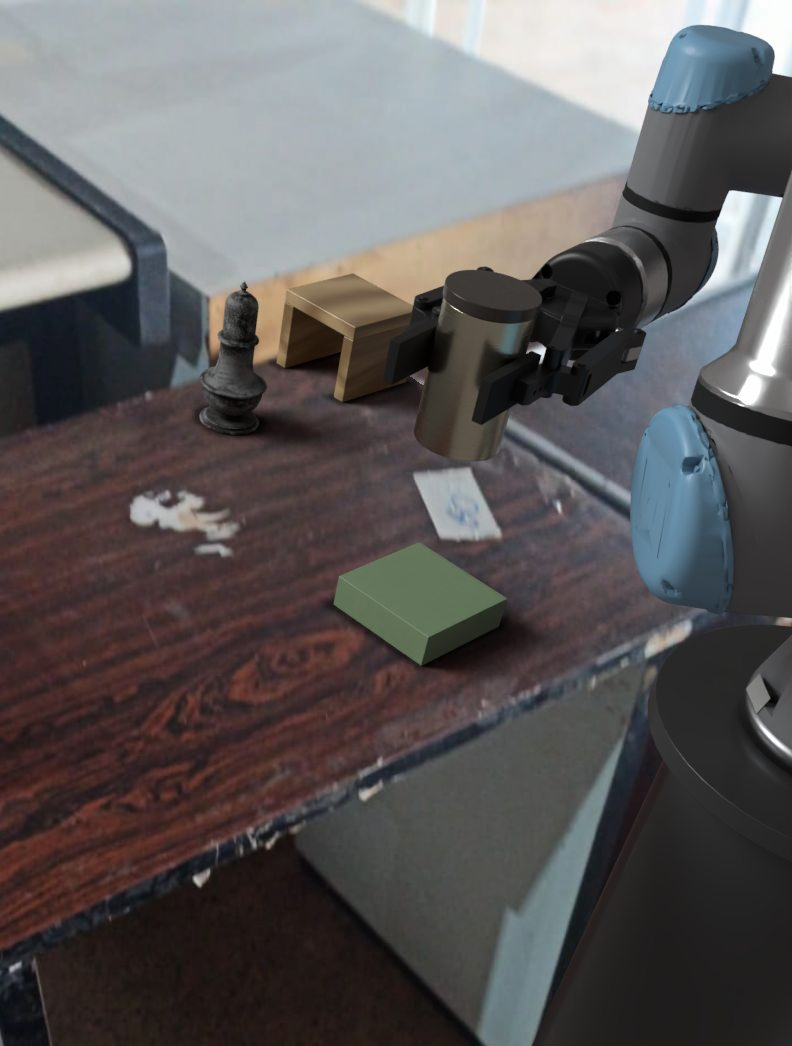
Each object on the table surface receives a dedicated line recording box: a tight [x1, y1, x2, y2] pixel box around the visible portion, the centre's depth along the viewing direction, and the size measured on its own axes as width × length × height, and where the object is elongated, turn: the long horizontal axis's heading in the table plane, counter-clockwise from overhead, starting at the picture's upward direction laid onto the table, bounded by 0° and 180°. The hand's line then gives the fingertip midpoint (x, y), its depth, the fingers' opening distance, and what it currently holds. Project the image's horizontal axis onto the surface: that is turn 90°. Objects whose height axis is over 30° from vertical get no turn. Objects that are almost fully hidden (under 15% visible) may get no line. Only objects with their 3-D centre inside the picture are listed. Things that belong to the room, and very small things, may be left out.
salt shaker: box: [199, 281, 268, 436], centre depth 109 cm, size 6×6×12 cm
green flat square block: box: [333, 541, 508, 667], centre depth 95 cm, size 9×9×2 cm
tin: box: [413, 269, 542, 462], centre depth 83 cm, size 6×6×10 cm
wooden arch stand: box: [276, 273, 413, 403], centre depth 121 cm, size 9×9×7 cm
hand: (436, 381), depth 80 cm, fingers closed on tin, 6 cm apart
